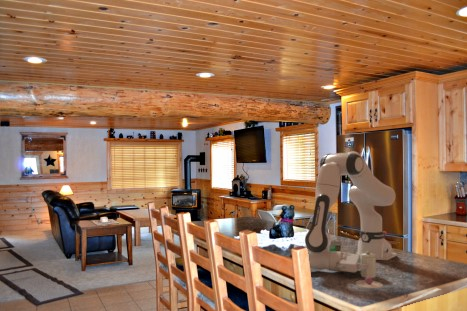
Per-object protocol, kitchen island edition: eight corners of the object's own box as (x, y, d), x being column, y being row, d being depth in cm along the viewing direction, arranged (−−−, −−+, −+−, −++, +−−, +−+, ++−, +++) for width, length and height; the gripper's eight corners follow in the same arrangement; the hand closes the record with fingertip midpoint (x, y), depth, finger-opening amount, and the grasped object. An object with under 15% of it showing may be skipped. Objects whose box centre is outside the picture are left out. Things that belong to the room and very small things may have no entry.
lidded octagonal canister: (366, 274, 186) (366, 249, 186) (378, 277, 181) (377, 251, 181) (358, 276, 182) (358, 251, 182) (370, 279, 177) (370, 253, 178)
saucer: (365, 280, 178) (365, 278, 178) (388, 286, 169) (388, 284, 169) (349, 285, 171) (349, 283, 171) (373, 291, 162) (373, 289, 162)
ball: (367, 282, 172) (367, 275, 172) (374, 284, 170) (374, 276, 170) (363, 283, 170) (363, 276, 170) (370, 285, 168) (370, 278, 168)
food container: (318, 256, 221) (318, 238, 222) (328, 255, 224) (328, 237, 224) (331, 261, 210) (331, 242, 210) (341, 260, 212) (341, 241, 212)
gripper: (334, 259, 177) (367, 262, 172) (340, 249, 196) (370, 252, 191) (334, 274, 177) (367, 277, 172) (340, 263, 196) (370, 265, 191)
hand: (369, 264), depth 182 cm, fingers closed on lidded octagonal canister, 6 cm apart
